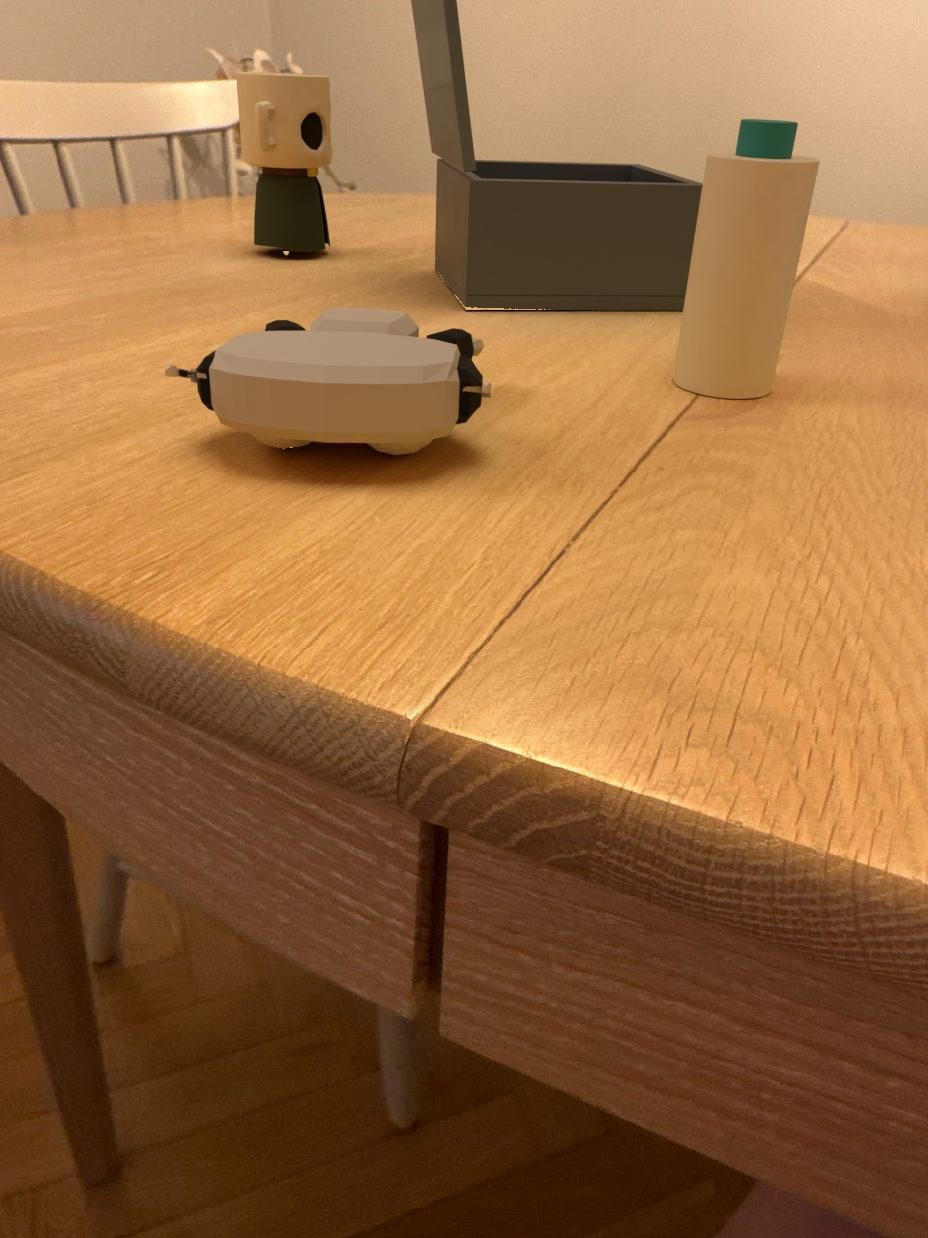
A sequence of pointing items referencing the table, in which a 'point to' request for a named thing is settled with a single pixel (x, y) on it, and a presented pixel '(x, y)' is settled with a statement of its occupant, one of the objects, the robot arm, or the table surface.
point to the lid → (444, 81)
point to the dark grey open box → (565, 235)
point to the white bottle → (744, 262)
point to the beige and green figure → (287, 155)
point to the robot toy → (343, 381)
